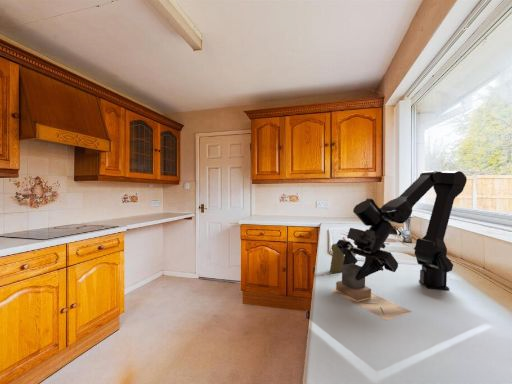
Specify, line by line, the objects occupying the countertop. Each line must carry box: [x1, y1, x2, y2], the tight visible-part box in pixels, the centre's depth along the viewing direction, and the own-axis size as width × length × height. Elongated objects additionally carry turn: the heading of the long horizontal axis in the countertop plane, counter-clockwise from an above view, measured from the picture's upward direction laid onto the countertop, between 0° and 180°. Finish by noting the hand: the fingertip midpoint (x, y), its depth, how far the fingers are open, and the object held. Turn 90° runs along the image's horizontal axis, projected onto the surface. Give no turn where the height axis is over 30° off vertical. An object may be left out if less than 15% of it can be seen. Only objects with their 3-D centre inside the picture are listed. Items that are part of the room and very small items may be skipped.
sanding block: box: [335, 263, 372, 302], centre depth 74 cm, size 8×6×8 cm
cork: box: [329, 243, 345, 275], centre depth 96 cm, size 6×6×11 cm
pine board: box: [330, 288, 413, 321], centre depth 70 cm, size 19×10×1 cm, turn 26°
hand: (349, 276), depth 73 cm, fingers closed on sanding block, 5 cm apart
